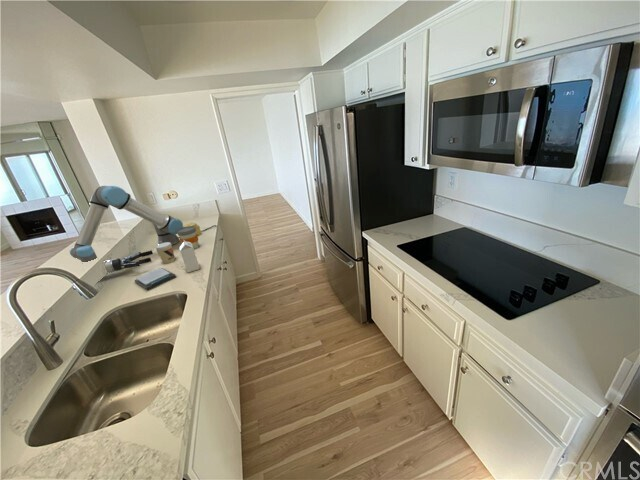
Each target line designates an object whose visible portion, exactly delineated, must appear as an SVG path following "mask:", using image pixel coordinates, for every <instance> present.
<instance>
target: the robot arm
mask: <svg viewBox="0 0 640 480" xmlns="http://www.w3.org/2000/svg"><path fill="white" fill-rule="evenodd" d="M88 204H89V208H88V211H87V213H86V216H85V218H84V221H83V223H82V226H81V227H80V230H79V234H78V236H77V239H76V241H75V243H74V246H73V247H71V248H70V250H69V254H70V256H71V257H72V258H74V259H76V258H77V259H76V260H79V261H80V263H82V262H88V261H91V260H94V259H96V258H98V256H97V254H96V252H95V249H94V248H93V247H92V244H93V242H94V239H95V236H96V234H97V232H98V229H99V226H100V224H101V222H102V219H103V216H104V214H105V212H106V210H108V209H109V207H110V206H111V207H113V208H115V209H118V210H125V211H126V212H129V213H131V214H133V215H135V216H138V217H140V218H142V219H144V220H146V221H148V222H149V223H152V225H153V228H154V231H155V233H156V236H157V245H159V244H161V243H165V242H170V243H171V245H172V246H174V245H176V244H178V243H179V242H181V240H180V237H179V236H178V233H177V231H178V230H179V229H181V228H183V226H184V224H183V222H182V220H181V219H179V218H175V217H174V216H171V215H169V214H167V213H166V214H163V213H161V212H159V211H157V210H155V209H153V208H152V207H150V206H148V205H146V204H144V203H142V202H140V201H138V200H136V199H134V198H133V197H132V195H131V194H130V193H128V192H126V190H125V189H124V188H122V187H120V186H116V185H100V186H98V187H96V188H95V190H94V191H93V192H92V195H91V198H90V200H89V203H88ZM213 227H217V225H215V224H214V225H212V226H209V227H208V228H205V229H202V230H201V232H205V231H207V230H209V229H212V228H213ZM151 255H154V253H153V250H152V249H151V250H146V251H144V252H143V251H142V252H141V251H137V252H136V253H133V254H131V255H128V256H125V257H124V256H123V259H121V258H118V257H117V258H114V259H110V260H106V261H107V262H106V263H105V268H106V270H107V272H109V273H108V274H112V273H114V272H118V271H122V270H124V269H129V268H139V267H140V266H141V265H143V264H144V265H145V264H148V263H152V258H151V257H148V256H151ZM144 257H146V258H144ZM139 258H142V259H139ZM110 272H111V273H110Z"/></svg>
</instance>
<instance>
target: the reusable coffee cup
mask: <svg viewBox="0 0 640 480" xmlns="http://www.w3.org/2000/svg"><path fill="white" fill-rule="evenodd" d="M177 233H178V234H177V236H178V237H180V238H179V240H180V242H181V244H182V243H183V242H184V241H186V242H190V243H191V244H192V245H193V248H194V250H196V249H198V248H199V235H197V233H196V228H195V227H194V226H188V227H184V228H181V229H179V230H178V231H177Z"/></svg>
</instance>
